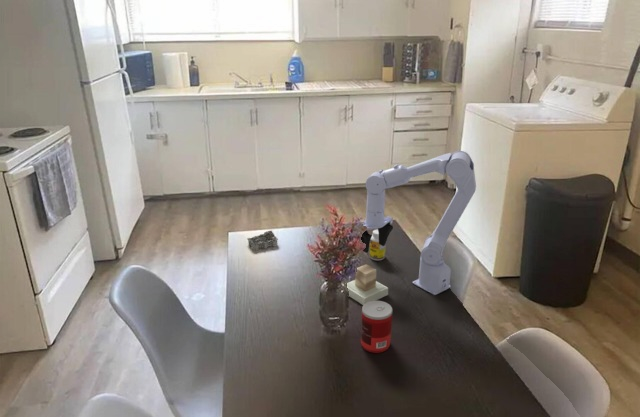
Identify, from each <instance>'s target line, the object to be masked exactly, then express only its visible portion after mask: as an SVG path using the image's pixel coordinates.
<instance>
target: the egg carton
mask: <svg viewBox="0 0 640 417" xmlns="http://www.w3.org/2000/svg"><path fill="white" fill-rule="evenodd" d="M246 239H247V242H248V243H247V244H248V246H249V247H251V248H250V250H255V251H259V250H260V249H262V248H263V249H268V248H269V247H274V248H275V247H276V246H277V245H278V241H279V239H278V237H277V236H275V233H274V232H273V230H267V231H265V232H264V233H261V234H259V235H255V236H253V237H248V238H246Z"/></svg>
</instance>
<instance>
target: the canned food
mask: <svg viewBox="0 0 640 417" xmlns="http://www.w3.org/2000/svg"><path fill="white" fill-rule="evenodd" d="M361 308H362V310H361V324H360V326H361V328H360V329H361V330H360V345H361V346H362V348H363V349H364V350H365V351H367V352H369V353H374V354H380V353H383V352H385V351H387V350H388V349H389V347H390V345H391V340H392V339H391V338H392V325H393V307H392V305H391V304H389V303H388V302H386V301H382V300H376V301H370V302H367V303H366V304H364V305H362V306H361Z"/></svg>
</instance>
